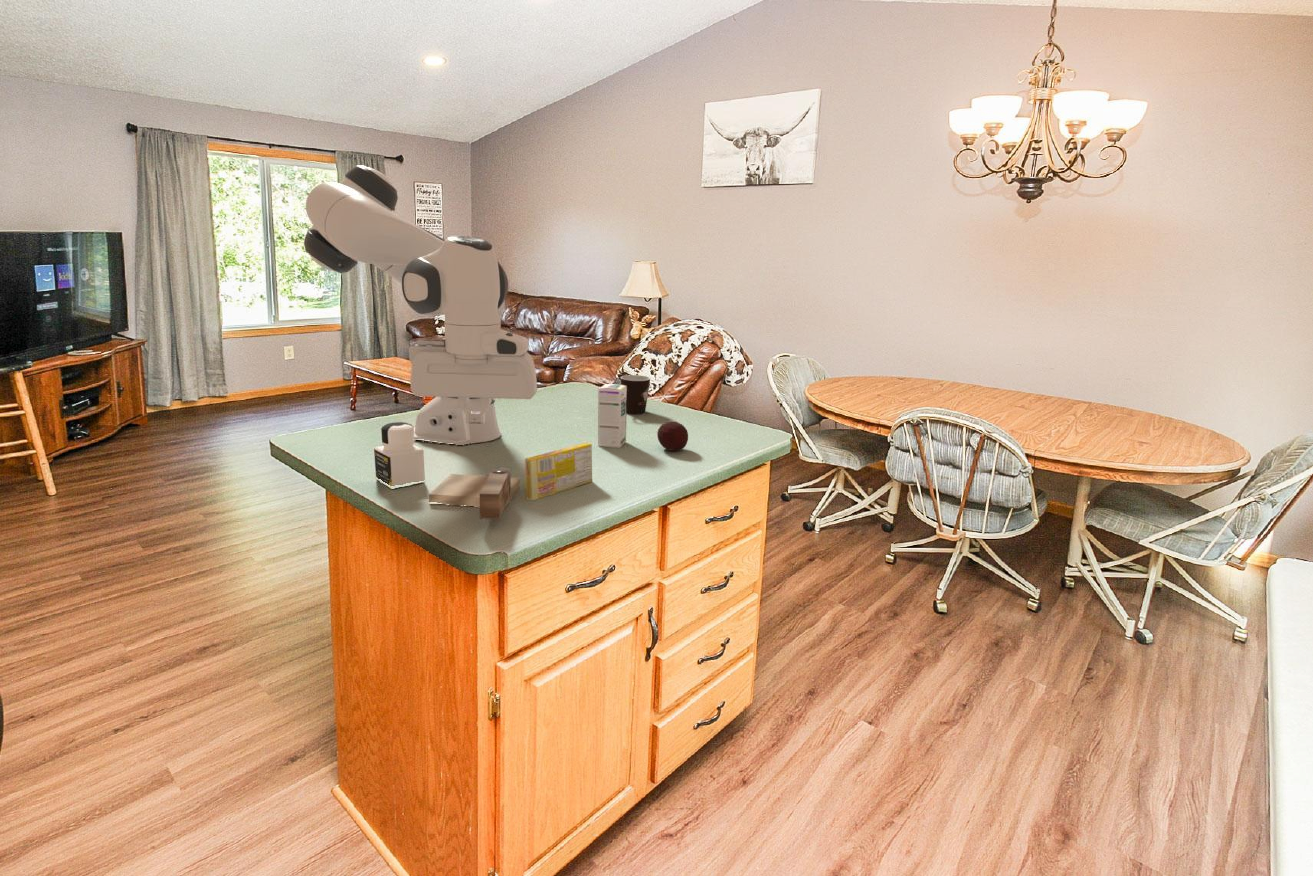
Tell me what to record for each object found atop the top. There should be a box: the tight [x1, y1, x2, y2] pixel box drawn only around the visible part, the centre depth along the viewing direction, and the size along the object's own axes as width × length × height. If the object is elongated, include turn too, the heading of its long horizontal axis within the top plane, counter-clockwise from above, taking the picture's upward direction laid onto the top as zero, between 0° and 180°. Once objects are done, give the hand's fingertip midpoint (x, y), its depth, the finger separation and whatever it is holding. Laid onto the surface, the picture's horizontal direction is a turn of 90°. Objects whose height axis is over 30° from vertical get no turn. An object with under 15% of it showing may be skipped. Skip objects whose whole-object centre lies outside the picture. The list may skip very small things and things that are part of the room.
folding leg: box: [479, 467, 512, 520], centre depth 131 cm, size 14×4×4 cm, turn 3°
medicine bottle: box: [373, 421, 426, 486], centre depth 145 cm, size 7×7×12 cm
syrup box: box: [597, 383, 627, 449], centre depth 177 cm, size 6×6×14 cm
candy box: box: [524, 442, 593, 501], centre depth 145 cm, size 16×2×8 cm, turn 139°
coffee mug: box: [620, 374, 651, 415], centre depth 211 cm, size 12×9×10 cm
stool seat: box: [428, 473, 521, 509], centre depth 141 cm, size 14×12×2 cm
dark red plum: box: [656, 421, 689, 452], centre depth 176 cm, size 7×8×7 cm
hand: (475, 423), depth 122 cm, fingers closed
